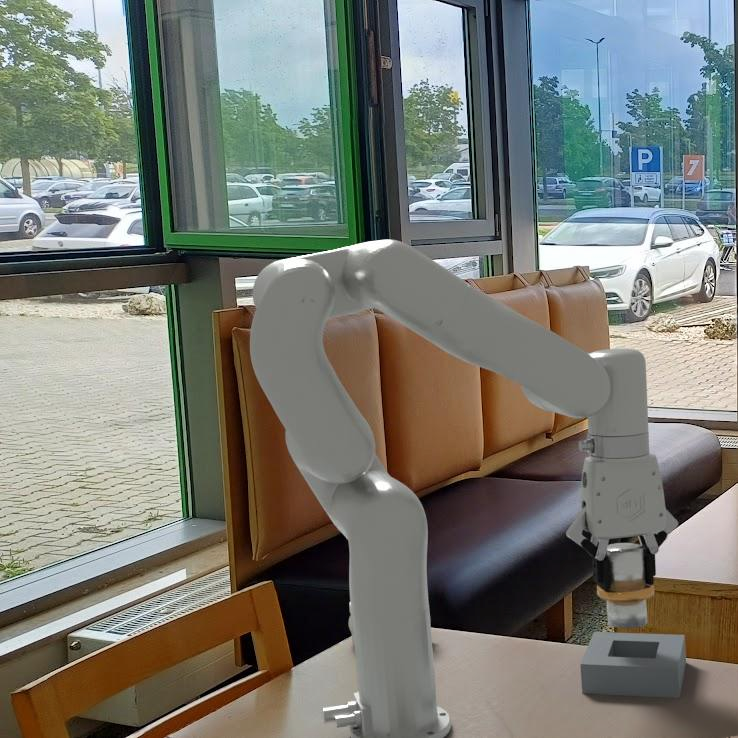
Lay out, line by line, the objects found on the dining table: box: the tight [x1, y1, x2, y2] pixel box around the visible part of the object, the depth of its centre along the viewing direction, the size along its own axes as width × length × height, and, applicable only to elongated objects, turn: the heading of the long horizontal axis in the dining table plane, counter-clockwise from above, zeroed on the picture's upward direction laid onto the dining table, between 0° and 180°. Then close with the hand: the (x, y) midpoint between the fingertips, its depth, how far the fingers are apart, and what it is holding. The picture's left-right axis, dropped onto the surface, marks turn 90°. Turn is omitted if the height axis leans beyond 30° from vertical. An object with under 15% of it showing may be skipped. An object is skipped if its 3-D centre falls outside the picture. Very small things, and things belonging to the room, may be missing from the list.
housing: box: [580, 631, 687, 699], centre depth 149 cm, size 12×12×5 cm
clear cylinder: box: [596, 542, 655, 629], centre depth 148 cm, size 7×7×10 cm
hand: (624, 583), depth 148 cm, fingers closed on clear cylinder, 5 cm apart
